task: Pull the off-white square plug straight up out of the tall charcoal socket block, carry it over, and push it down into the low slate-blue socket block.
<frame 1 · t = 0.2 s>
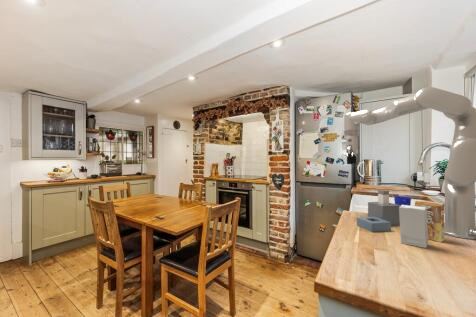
hand: (351, 163, 127), 31 cm above the counter, tool pointing down, fingers open, 9 cm apart
low socket block: (373, 228, 107), on the counter
plug: (383, 209, 116), point 7 cm above the counter, touching raised socket block
candy box: (429, 238, 93), on the counter
raised socket block: (383, 222, 116), on the counter
skincare box: (413, 244, 87), on the counter
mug: (403, 214, 132), on the counter
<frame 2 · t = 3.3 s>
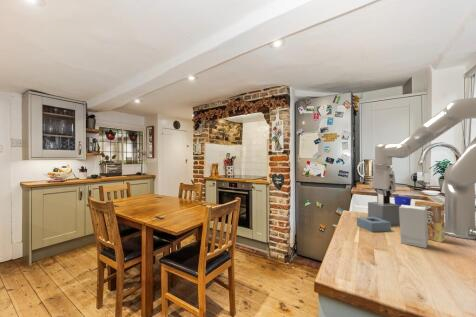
hand: (383, 202, 116), 11 cm above the counter, tool pointing down, fingers closed on plug, 3 cm apart
plug: (383, 209, 116), point 7 cm above the counter, touching gripper, raised socket block
everything else where it was.
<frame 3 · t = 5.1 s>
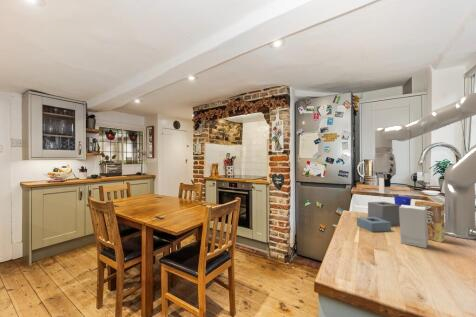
hand: (384, 185, 115), 19 cm above the counter, tool pointing down, fingers closed on plug, 3 cm apart
plug: (384, 193, 115), point 16 cm above the counter, touching gripper
everything else where it was.
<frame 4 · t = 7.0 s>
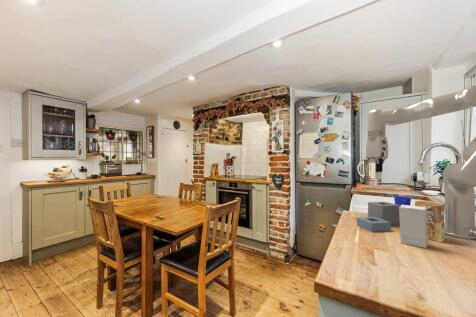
hand: (375, 171, 110), 28 cm above the counter, tool pointing down, fingers closed on plug, 3 cm apart
plug: (375, 178, 110), point 24 cm above the counter, touching gripper
everything else where it was.
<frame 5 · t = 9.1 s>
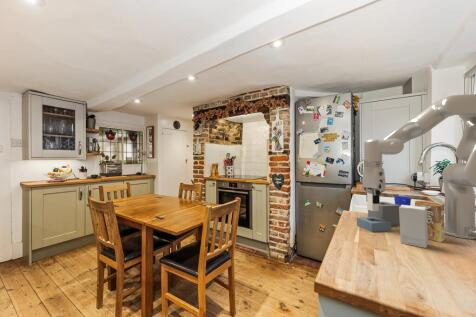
hand: (372, 202, 107), 13 cm above the counter, tool pointing down, fingers closed on plug, 3 cm apart
plug: (372, 210, 107), point 9 cm above the counter, touching gripper
everything else where it was.
when the fingers open (6 cm above the counter, at t = 10.8 s): plug stays where it is, resting on low socket block.
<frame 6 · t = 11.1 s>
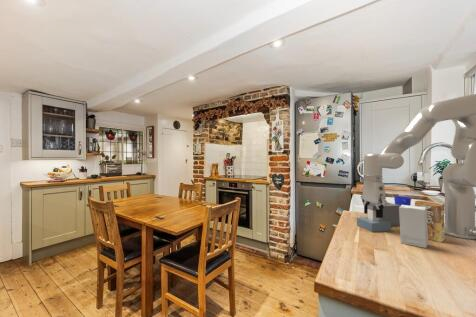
hand: (373, 215, 107), 6 cm above the counter, tool pointing down, fingers open, 7 cm apart
plug: (373, 226, 107), point 1 cm above the counter, touching low socket block
everything else where it was.
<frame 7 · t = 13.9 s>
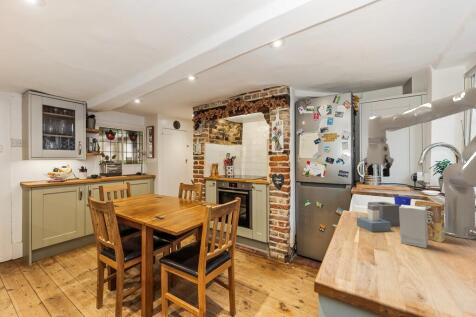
hand: (378, 176, 109), 25 cm above the counter, tool pointing down, fingers open, 9 cm apart
nothing on the counter moved.
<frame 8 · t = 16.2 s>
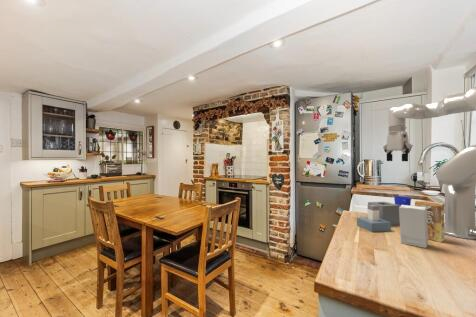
hand: (396, 161, 120), 32 cm above the counter, tool pointing down, fingers open, 9 cm apart
nothing on the counter moved.
at the end: plug 0.1 cm off-centre on the low socket block, point 1.0 cm above the low socket block's base; plug tilted 0°; the gripper is holding nothing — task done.
